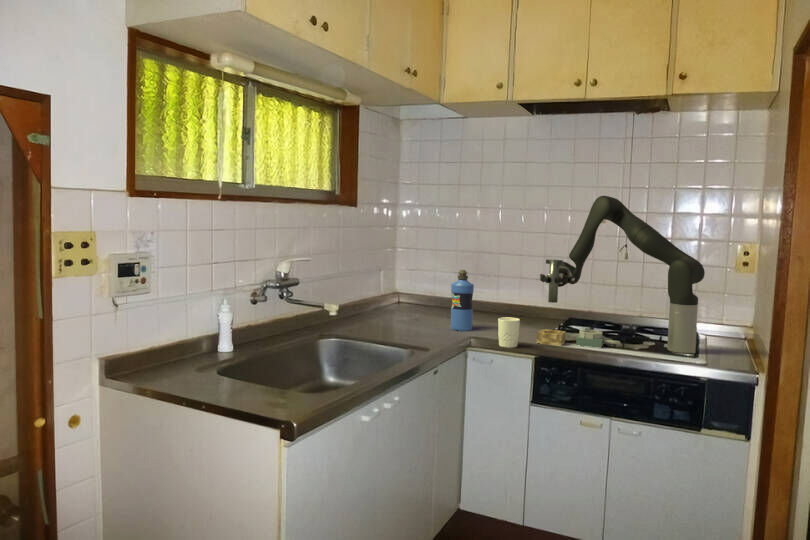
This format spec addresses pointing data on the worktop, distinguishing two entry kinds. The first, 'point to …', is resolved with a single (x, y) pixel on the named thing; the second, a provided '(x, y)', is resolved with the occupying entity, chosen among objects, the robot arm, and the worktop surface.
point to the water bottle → (462, 303)
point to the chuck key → (553, 279)
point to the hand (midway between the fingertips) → (552, 280)
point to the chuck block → (592, 338)
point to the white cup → (508, 331)
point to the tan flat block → (551, 337)
